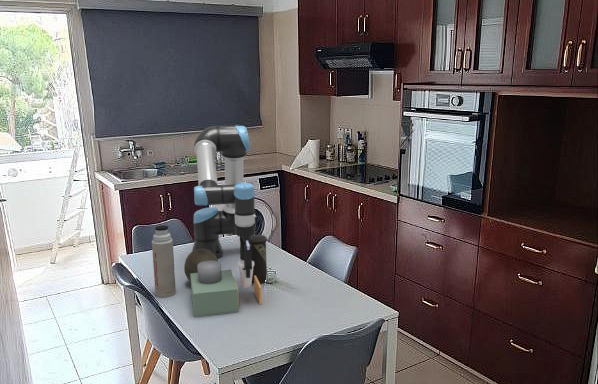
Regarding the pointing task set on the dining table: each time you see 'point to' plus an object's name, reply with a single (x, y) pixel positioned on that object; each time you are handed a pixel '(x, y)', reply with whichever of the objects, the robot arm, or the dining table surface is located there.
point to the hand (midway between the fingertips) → (246, 281)
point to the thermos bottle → (163, 262)
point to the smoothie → (241, 265)
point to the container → (259, 257)
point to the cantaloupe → (197, 260)
